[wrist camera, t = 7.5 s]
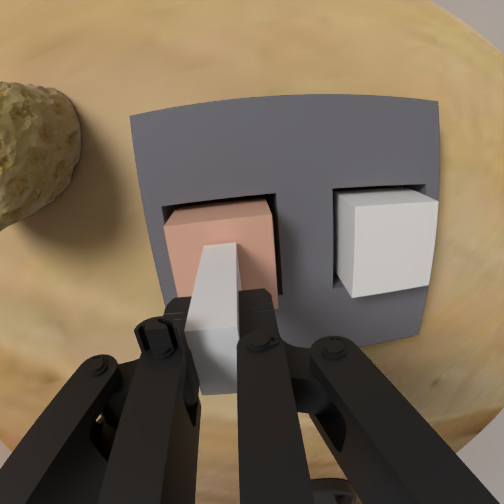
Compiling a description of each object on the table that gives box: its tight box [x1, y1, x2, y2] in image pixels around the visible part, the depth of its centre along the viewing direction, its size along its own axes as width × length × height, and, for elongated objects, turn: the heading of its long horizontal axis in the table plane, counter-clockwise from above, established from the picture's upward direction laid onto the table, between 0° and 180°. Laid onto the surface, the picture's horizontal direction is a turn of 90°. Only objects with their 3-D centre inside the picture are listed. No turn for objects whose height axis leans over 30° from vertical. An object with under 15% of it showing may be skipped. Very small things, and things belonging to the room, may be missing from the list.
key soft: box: [334, 188, 439, 298], centre depth 17 cm, size 5×5×4 cm
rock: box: [0, 82, 81, 231], centre depth 14 cm, size 10×11×10 cm
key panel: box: [130, 94, 440, 348], centre depth 19 cm, size 16×17×3 cm
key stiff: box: [164, 198, 278, 309], centre depth 17 cm, size 5×5×4 cm
